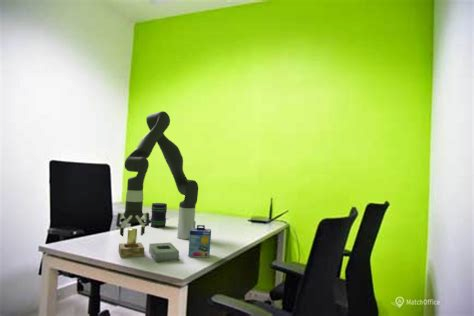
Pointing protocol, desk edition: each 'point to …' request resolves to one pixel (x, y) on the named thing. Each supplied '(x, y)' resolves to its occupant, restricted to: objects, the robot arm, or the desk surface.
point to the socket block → (131, 250)
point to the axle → (131, 237)
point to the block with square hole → (163, 252)
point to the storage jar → (158, 215)
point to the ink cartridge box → (199, 242)
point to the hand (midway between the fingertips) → (132, 235)
